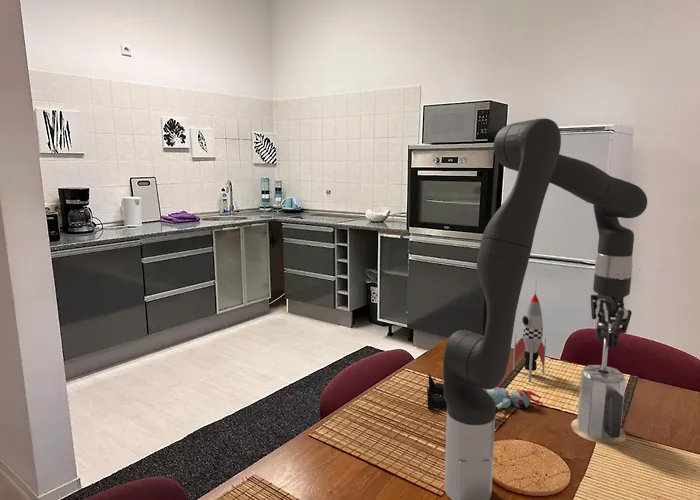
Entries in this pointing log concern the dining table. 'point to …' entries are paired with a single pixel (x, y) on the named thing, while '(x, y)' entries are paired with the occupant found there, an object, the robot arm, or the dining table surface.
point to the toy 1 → (498, 394)
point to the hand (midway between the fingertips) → (606, 343)
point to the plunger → (604, 332)
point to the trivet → (618, 440)
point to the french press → (601, 403)
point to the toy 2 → (531, 338)
